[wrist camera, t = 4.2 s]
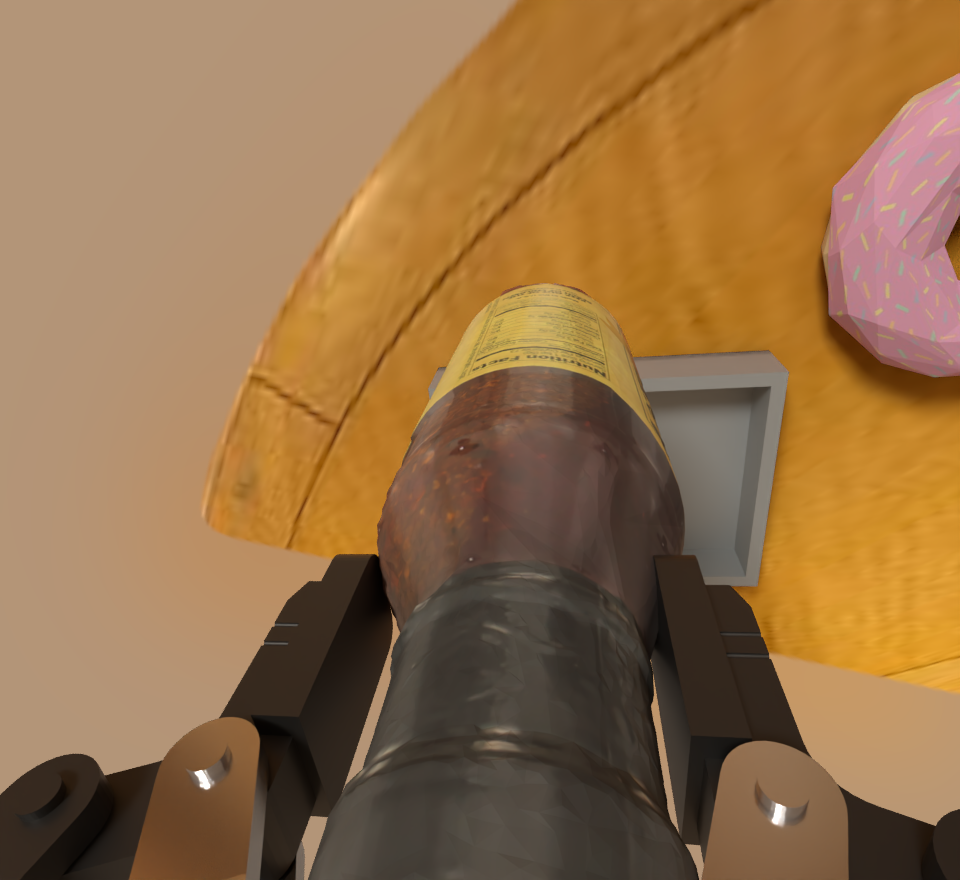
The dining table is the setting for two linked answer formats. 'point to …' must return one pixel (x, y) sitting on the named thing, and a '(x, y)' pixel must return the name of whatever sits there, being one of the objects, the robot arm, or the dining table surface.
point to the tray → (718, 450)
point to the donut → (901, 238)
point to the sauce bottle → (522, 618)
